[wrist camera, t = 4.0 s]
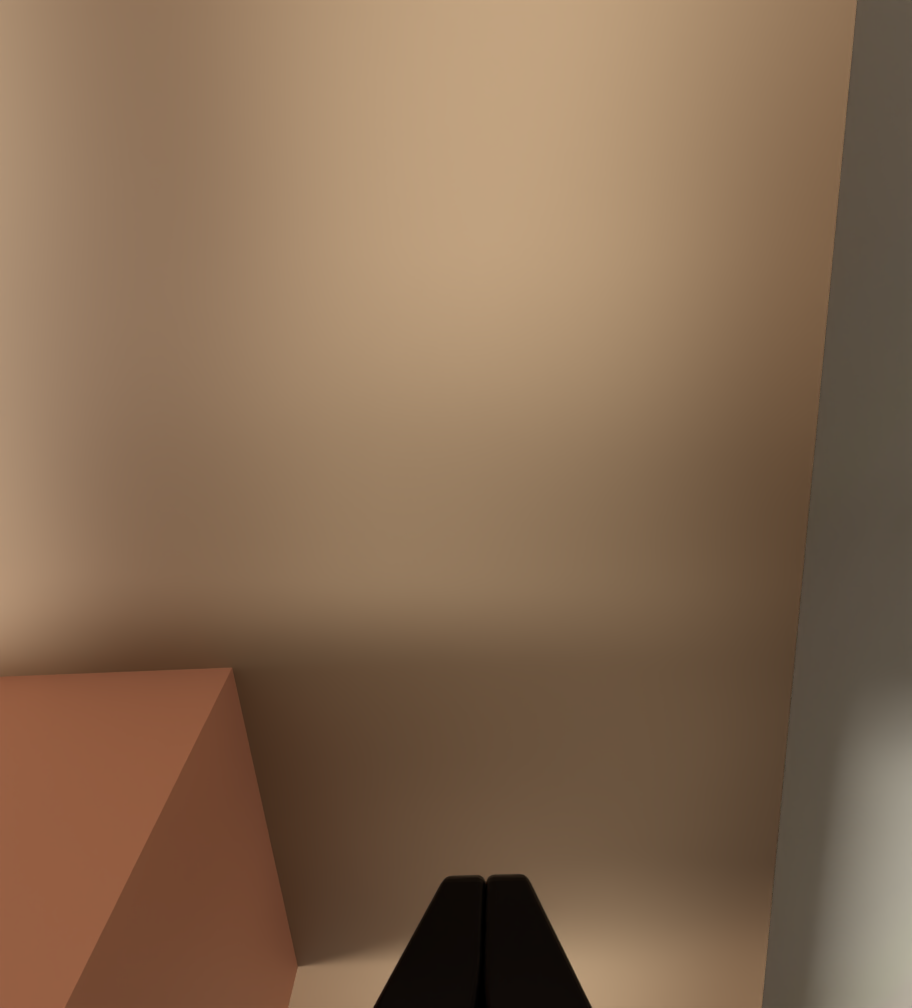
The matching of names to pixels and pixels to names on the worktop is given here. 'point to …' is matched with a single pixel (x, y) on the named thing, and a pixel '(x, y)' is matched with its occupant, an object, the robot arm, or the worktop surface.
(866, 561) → the worktop surface
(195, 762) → the block
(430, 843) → the board
